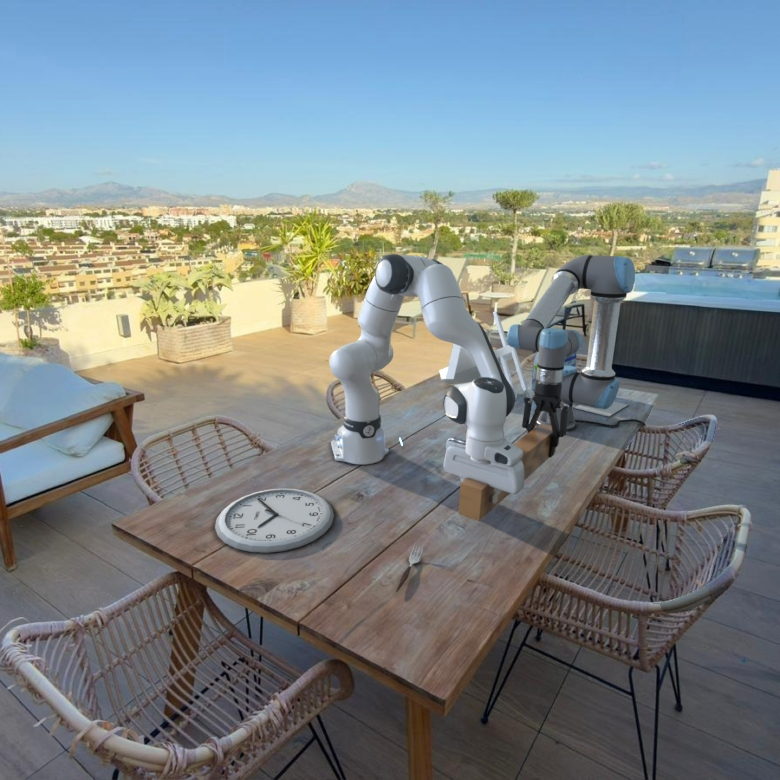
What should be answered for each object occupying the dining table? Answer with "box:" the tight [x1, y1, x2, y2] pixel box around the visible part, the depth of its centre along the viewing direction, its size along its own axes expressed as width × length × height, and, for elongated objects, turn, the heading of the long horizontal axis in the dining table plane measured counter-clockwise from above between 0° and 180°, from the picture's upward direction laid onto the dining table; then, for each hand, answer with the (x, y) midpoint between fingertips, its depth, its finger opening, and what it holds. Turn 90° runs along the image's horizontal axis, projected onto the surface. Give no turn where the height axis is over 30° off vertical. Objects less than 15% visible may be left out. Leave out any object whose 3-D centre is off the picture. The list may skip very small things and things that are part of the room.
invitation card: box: [573, 401, 629, 418], centre depth 226 cm, size 21×1×15 cm
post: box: [458, 424, 557, 522], centre depth 144 cm, size 52×6×8 cm, turn 144°
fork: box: [395, 543, 425, 593], centre depth 115 cm, size 3×16×2 cm, turn 160°
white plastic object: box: [438, 310, 531, 400], centre depth 245 cm, size 37×45×31 cm
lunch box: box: [531, 352, 577, 392], centre depth 245 cm, size 26×11×21 cm, turn 134°
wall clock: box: [214, 488, 335, 554], centre depth 135 cm, size 30×2×30 cm
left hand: (480, 497), depth 129 cm, fingers closed on post, 5 cm apart
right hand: (541, 452), depth 161 cm, fingers closed on post, 6 cm apart
